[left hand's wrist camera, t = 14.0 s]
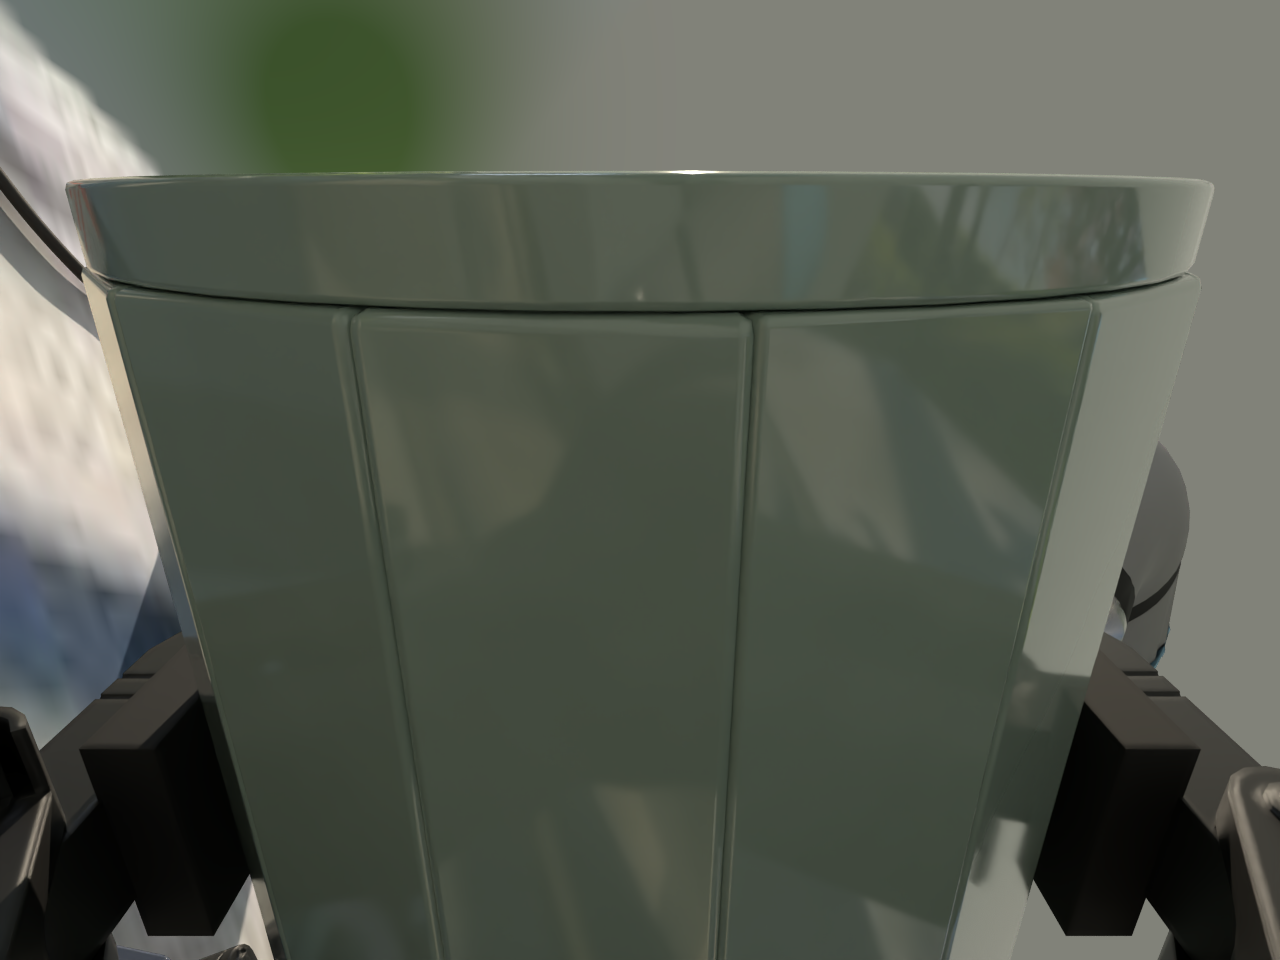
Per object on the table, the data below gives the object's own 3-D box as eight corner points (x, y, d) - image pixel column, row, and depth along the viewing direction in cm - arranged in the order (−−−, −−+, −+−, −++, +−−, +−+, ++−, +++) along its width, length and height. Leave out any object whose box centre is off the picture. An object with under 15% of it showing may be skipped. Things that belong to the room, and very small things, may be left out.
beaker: (1594, 180, 4) (1125, 1201, 9) (811, 191, 13) (768, 707, 17) (-601, 153, 2) (275, 1640, 6) (225, 190, 10) (347, 800, 15)
